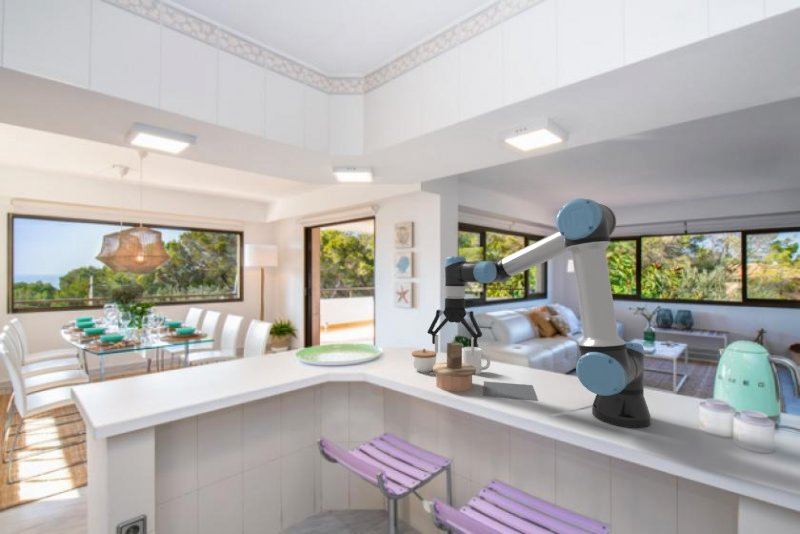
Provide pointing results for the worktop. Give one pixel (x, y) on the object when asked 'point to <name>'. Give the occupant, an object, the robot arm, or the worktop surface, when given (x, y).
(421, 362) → the lidded jar
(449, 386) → the bowl
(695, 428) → the worktop surface
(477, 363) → the mug
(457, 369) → the cover
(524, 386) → the mat
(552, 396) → the worktop surface
